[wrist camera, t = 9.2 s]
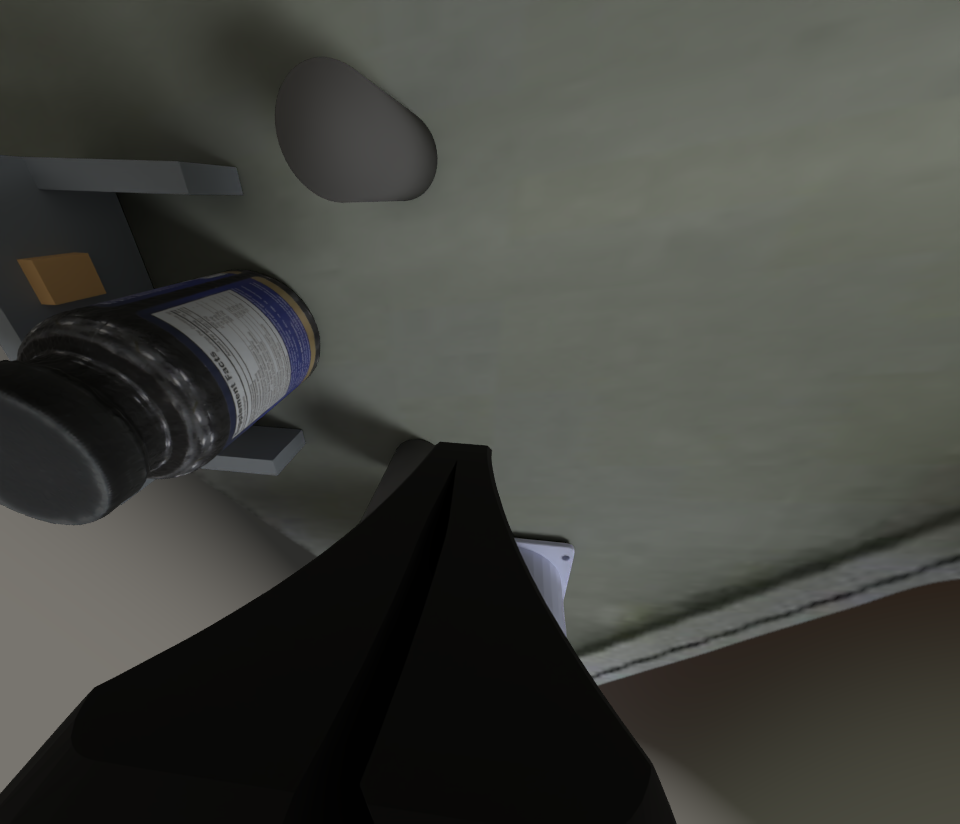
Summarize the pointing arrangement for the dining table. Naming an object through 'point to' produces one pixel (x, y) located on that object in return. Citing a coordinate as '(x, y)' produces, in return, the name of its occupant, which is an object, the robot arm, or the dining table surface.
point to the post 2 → (399, 470)
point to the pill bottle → (144, 389)
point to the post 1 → (351, 136)
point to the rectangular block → (100, 258)
